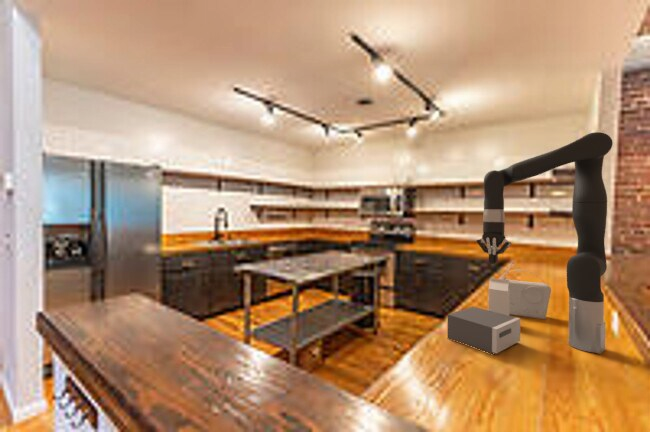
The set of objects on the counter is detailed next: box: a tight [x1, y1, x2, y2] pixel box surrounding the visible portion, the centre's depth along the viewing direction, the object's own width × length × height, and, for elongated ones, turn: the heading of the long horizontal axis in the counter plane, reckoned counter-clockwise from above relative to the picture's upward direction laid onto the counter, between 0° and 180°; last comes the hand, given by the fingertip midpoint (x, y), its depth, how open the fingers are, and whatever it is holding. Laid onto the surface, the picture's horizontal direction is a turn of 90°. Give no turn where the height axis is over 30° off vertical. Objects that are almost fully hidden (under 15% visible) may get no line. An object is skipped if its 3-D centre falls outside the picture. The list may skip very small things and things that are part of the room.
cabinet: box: [447, 306, 517, 355], centre depth 110 cm, size 16×18×9 cm
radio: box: [498, 261, 552, 320], centre depth 139 cm, size 22×8×25 cm, turn 62°
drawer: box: [492, 317, 521, 354], centre depth 108 cm, size 16×18×8 cm
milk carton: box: [487, 277, 510, 316], centre depth 128 cm, size 7×7×19 cm
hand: (493, 263), depth 119 cm, fingers closed
